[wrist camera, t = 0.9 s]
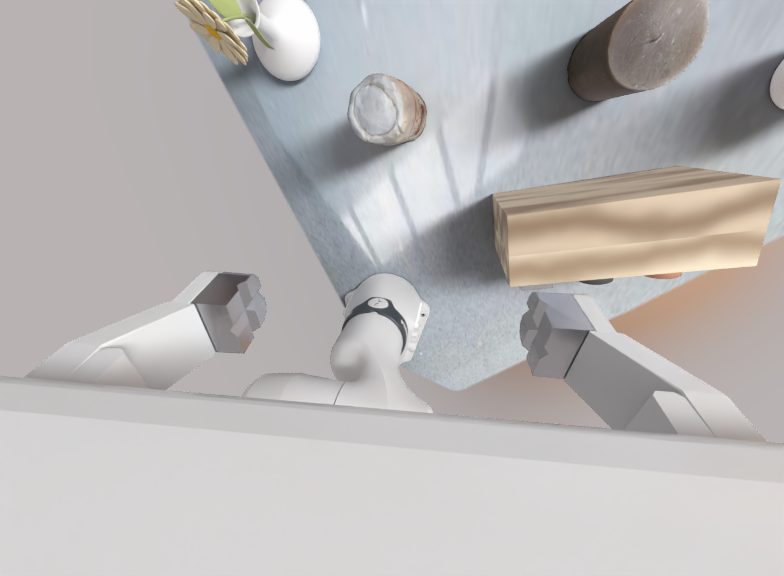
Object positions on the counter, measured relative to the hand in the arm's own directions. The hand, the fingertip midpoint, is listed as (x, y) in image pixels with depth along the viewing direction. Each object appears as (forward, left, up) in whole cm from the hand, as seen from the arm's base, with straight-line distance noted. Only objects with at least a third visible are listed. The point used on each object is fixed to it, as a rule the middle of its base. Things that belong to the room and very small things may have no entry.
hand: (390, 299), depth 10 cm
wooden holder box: (-5, -24, -52) cm, 58 cm away
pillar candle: (+16, -21, -53) cm, 59 cm away
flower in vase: (+16, +27, -52) cm, 61 cm away
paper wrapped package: (+7, +8, -52) cm, 54 cm away
